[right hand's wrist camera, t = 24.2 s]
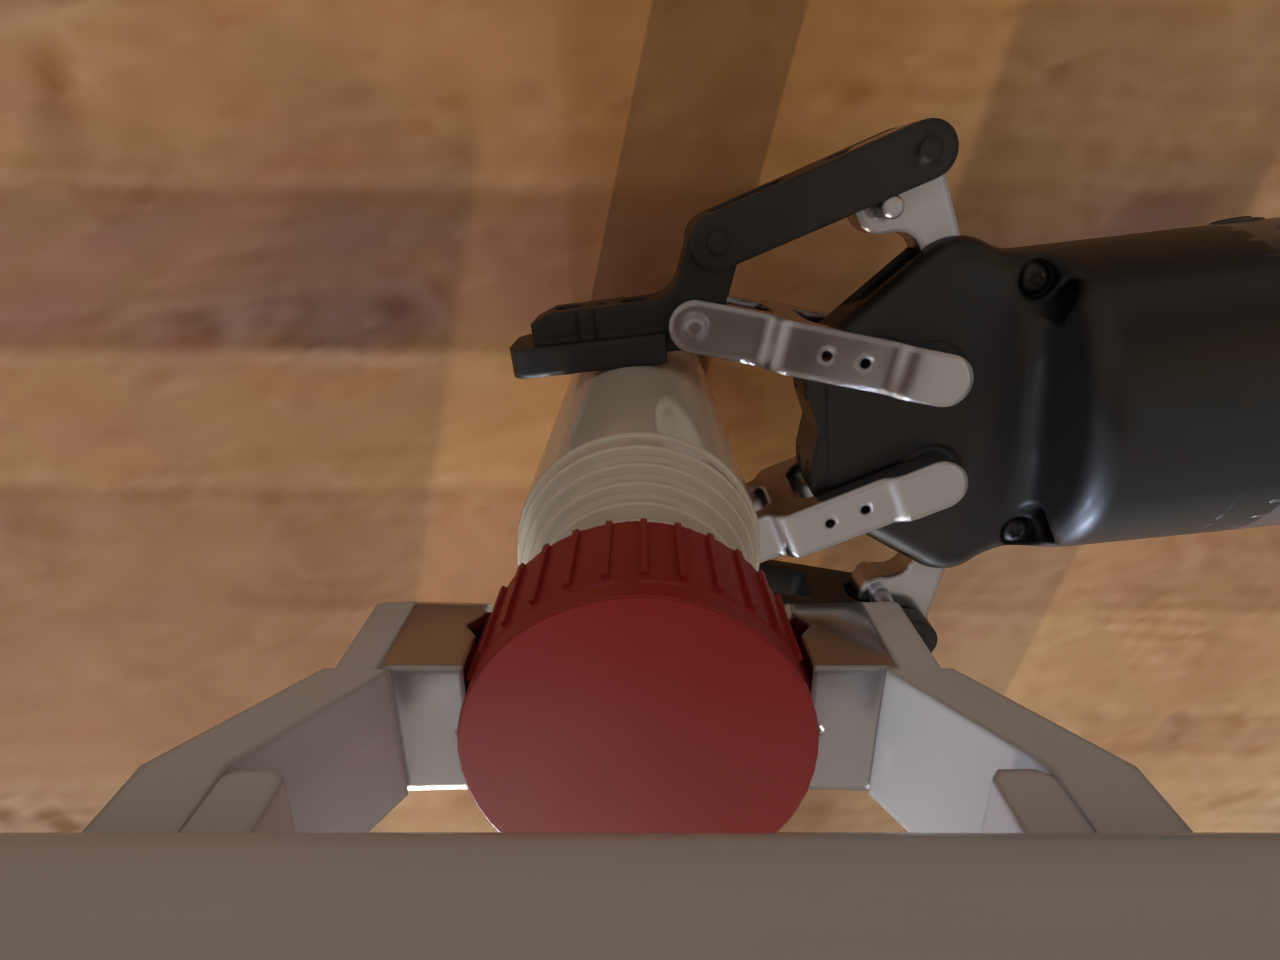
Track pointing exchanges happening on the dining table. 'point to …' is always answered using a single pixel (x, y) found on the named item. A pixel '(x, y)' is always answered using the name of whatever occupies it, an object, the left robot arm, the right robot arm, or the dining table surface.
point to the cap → (638, 691)
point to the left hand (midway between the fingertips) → (536, 452)
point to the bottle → (639, 460)
